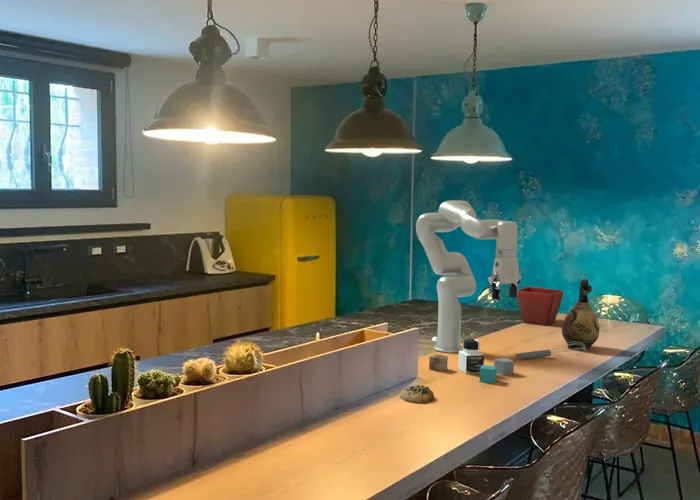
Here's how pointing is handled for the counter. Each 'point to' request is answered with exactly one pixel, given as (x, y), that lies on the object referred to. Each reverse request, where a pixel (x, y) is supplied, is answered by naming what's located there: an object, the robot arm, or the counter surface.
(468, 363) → the medicine bottle
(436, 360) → the walnut block
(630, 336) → the counter surface
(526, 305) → the plant pot
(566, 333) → the ceramic jug
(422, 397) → the bread roll
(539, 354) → the kitchen whisk
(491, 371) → the deep teal block
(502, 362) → the slate grey block
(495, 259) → the robot arm
